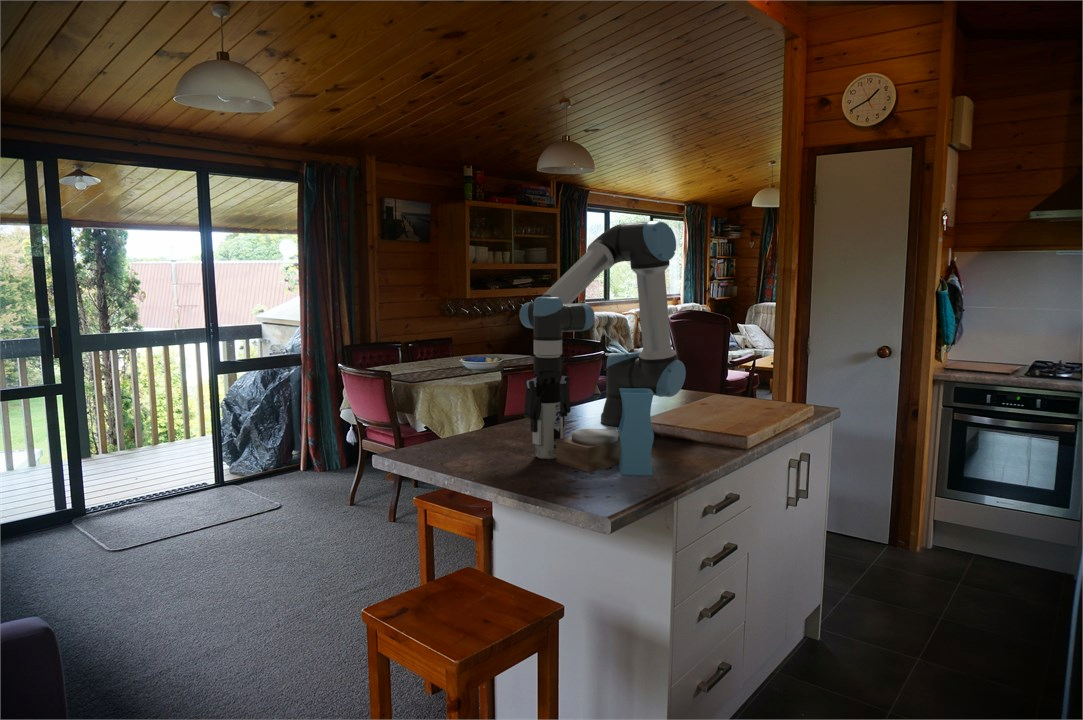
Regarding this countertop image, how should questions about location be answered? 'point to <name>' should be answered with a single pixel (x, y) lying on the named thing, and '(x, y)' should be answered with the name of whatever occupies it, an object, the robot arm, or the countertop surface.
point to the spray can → (549, 419)
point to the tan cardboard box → (589, 449)
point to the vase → (636, 432)
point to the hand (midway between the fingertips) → (547, 441)
